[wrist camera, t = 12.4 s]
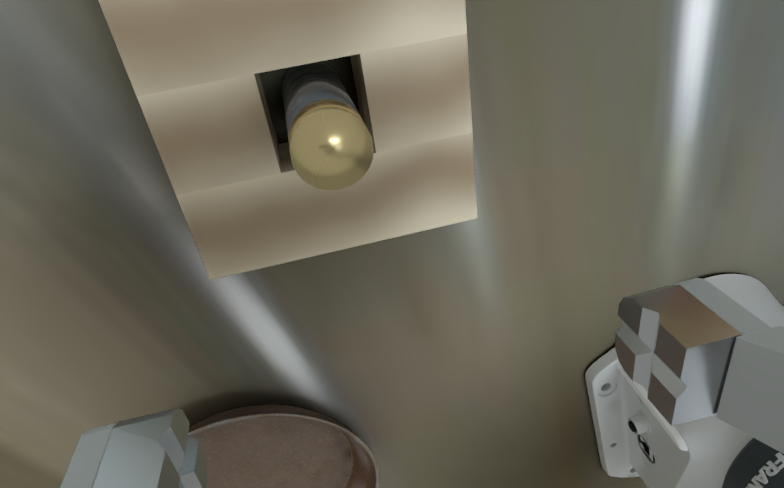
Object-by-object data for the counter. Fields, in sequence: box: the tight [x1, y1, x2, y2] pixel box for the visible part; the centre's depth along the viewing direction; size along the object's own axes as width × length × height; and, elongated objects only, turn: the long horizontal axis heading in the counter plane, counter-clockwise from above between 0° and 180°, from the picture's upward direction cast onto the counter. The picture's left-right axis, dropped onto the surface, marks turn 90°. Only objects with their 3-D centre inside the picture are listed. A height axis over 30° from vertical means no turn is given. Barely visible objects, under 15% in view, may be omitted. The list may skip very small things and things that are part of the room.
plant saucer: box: [188, 405, 379, 488], centre depth 38 cm, size 18×18×3 cm
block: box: [98, 0, 477, 280], centre depth 25 cm, size 14×14×4 cm
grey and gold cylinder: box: [282, 61, 374, 190], centre depth 22 cm, size 3×3×9 cm
